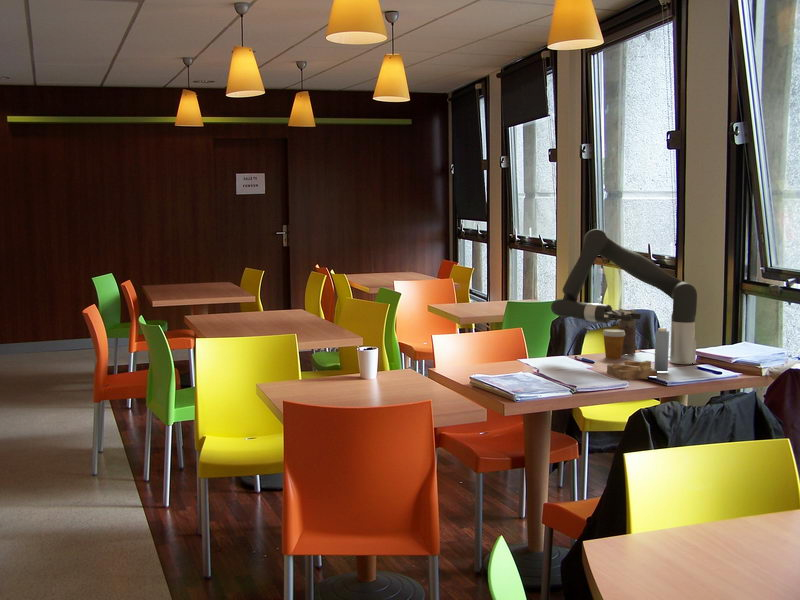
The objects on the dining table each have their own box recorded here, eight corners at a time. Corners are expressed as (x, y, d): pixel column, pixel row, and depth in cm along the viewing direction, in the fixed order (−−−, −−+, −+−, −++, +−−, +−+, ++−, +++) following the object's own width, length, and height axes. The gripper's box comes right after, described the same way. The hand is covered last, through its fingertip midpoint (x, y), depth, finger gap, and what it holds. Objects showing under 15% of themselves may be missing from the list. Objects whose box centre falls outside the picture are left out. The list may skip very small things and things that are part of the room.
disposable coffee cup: (622, 356, 360) (623, 329, 359) (626, 360, 351) (627, 332, 350) (600, 356, 361) (601, 328, 360) (603, 359, 352) (604, 331, 351)
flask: (664, 371, 326) (665, 327, 324) (669, 373, 321) (671, 329, 319) (652, 371, 325) (653, 327, 324) (657, 373, 320) (659, 329, 319)
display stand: (642, 371, 325) (643, 356, 324) (659, 379, 310) (660, 363, 309) (604, 372, 323) (605, 357, 322) (619, 379, 308) (620, 363, 307)
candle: (614, 353, 369) (615, 308, 367) (627, 352, 372) (629, 307, 370) (625, 355, 362) (626, 310, 360) (638, 354, 365) (640, 309, 363)
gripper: (590, 304, 333) (628, 309, 322) (606, 302, 344) (644, 306, 333) (589, 323, 334) (627, 328, 323) (605, 320, 344) (642, 325, 334)
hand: (635, 317), depth 328 cm, fingers open, 8 cm apart
